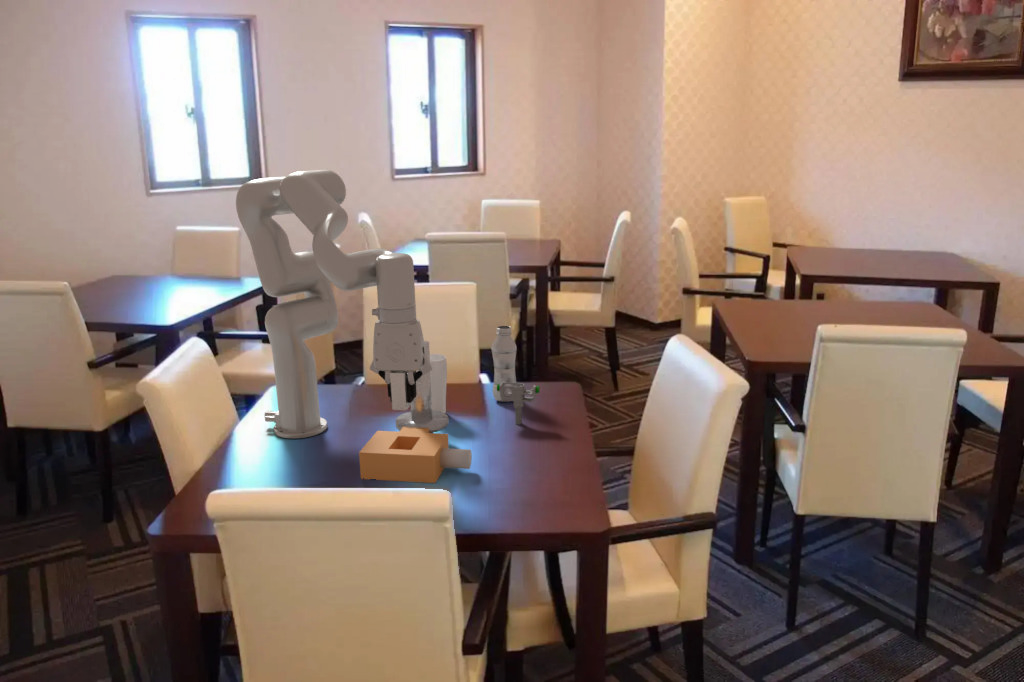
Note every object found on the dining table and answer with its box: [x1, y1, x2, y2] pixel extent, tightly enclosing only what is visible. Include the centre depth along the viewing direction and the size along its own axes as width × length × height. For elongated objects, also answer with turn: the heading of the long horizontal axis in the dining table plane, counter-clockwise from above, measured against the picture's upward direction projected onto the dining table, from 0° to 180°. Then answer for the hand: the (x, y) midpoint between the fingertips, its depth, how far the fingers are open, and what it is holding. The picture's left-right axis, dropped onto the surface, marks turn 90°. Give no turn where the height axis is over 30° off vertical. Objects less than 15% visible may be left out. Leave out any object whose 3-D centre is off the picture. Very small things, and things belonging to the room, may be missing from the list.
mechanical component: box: [497, 382, 541, 426], centre depth 195 cm, size 3×10×10 cm, turn 78°
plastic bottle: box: [490, 325, 517, 403], centre depth 210 cm, size 6×7×20 cm
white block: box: [390, 371, 413, 411], centre depth 167 cm, size 3×5×8 cm, turn 171°
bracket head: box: [358, 427, 473, 484], centre depth 173 cm, size 22×15×6 cm
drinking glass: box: [430, 353, 448, 414], centre depth 202 cm, size 7×7×15 cm
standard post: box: [395, 340, 450, 433], centre depth 182 cm, size 12×12×24 cm
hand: (402, 399), depth 168 cm, fingers closed on white block, 3 cm apart
